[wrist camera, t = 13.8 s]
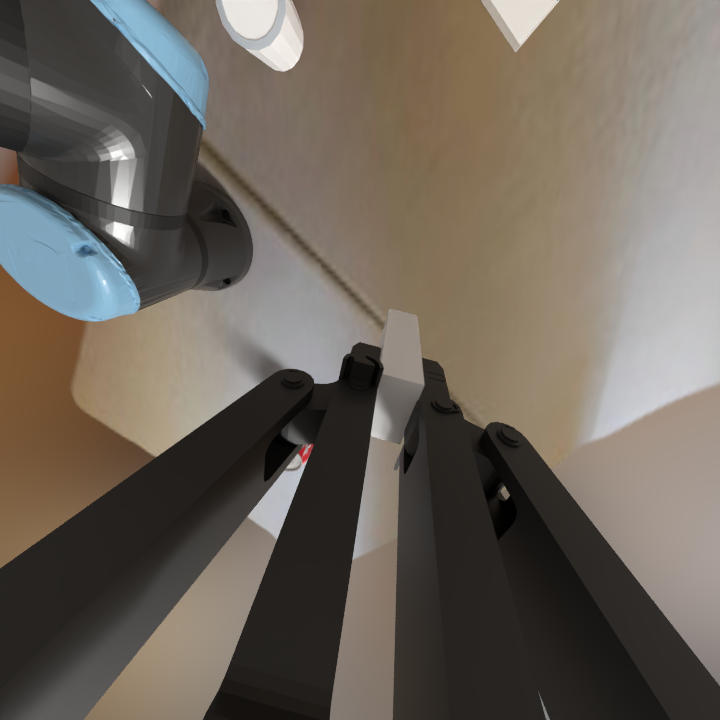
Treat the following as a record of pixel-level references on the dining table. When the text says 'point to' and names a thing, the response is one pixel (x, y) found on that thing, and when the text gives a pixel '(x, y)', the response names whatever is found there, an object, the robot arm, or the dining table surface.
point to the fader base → (518, 17)
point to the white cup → (265, 29)
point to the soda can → (300, 458)
